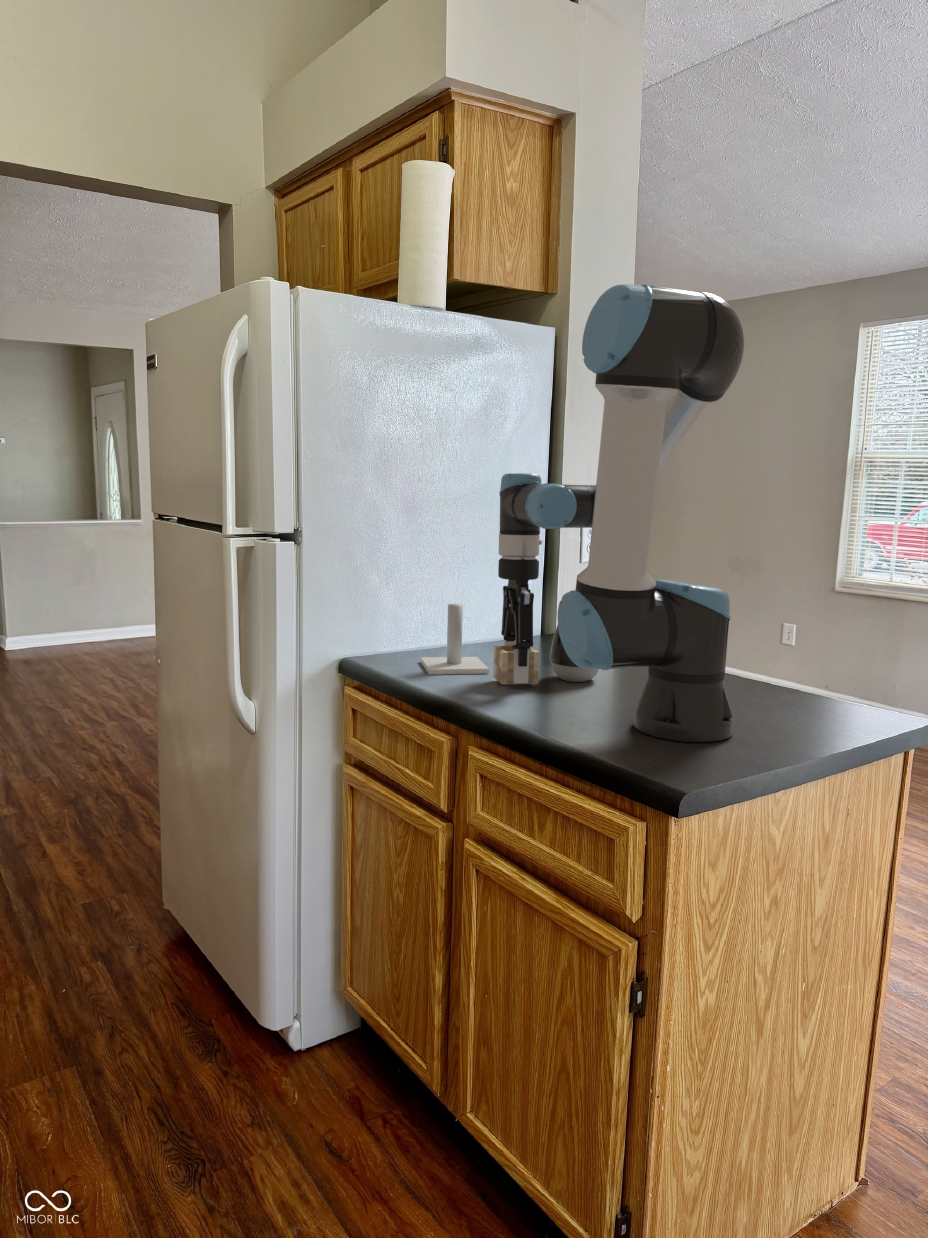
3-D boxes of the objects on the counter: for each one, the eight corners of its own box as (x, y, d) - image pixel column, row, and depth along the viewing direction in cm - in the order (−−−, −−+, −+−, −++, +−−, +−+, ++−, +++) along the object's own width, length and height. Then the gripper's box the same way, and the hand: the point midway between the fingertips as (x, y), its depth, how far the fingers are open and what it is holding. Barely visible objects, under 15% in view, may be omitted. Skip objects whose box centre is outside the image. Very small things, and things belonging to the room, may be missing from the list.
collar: (538, 683, 164) (539, 652, 163) (501, 684, 163) (502, 652, 162) (528, 676, 171) (529, 645, 170) (493, 676, 169) (494, 646, 169)
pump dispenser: (599, 674, 177) (603, 599, 175) (602, 686, 167) (607, 607, 165) (549, 672, 178) (552, 597, 176) (548, 683, 168) (552, 604, 166)
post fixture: (488, 673, 175) (490, 609, 173) (429, 674, 173) (430, 609, 171) (476, 661, 187) (478, 600, 185) (420, 662, 185) (421, 600, 183)
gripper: (553, 561, 155) (549, 689, 158) (524, 554, 174) (521, 668, 177) (512, 561, 153) (508, 690, 156) (487, 553, 172) (485, 668, 176)
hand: (515, 678), depth 167 cm, fingers closed on collar, 7 cm apart
